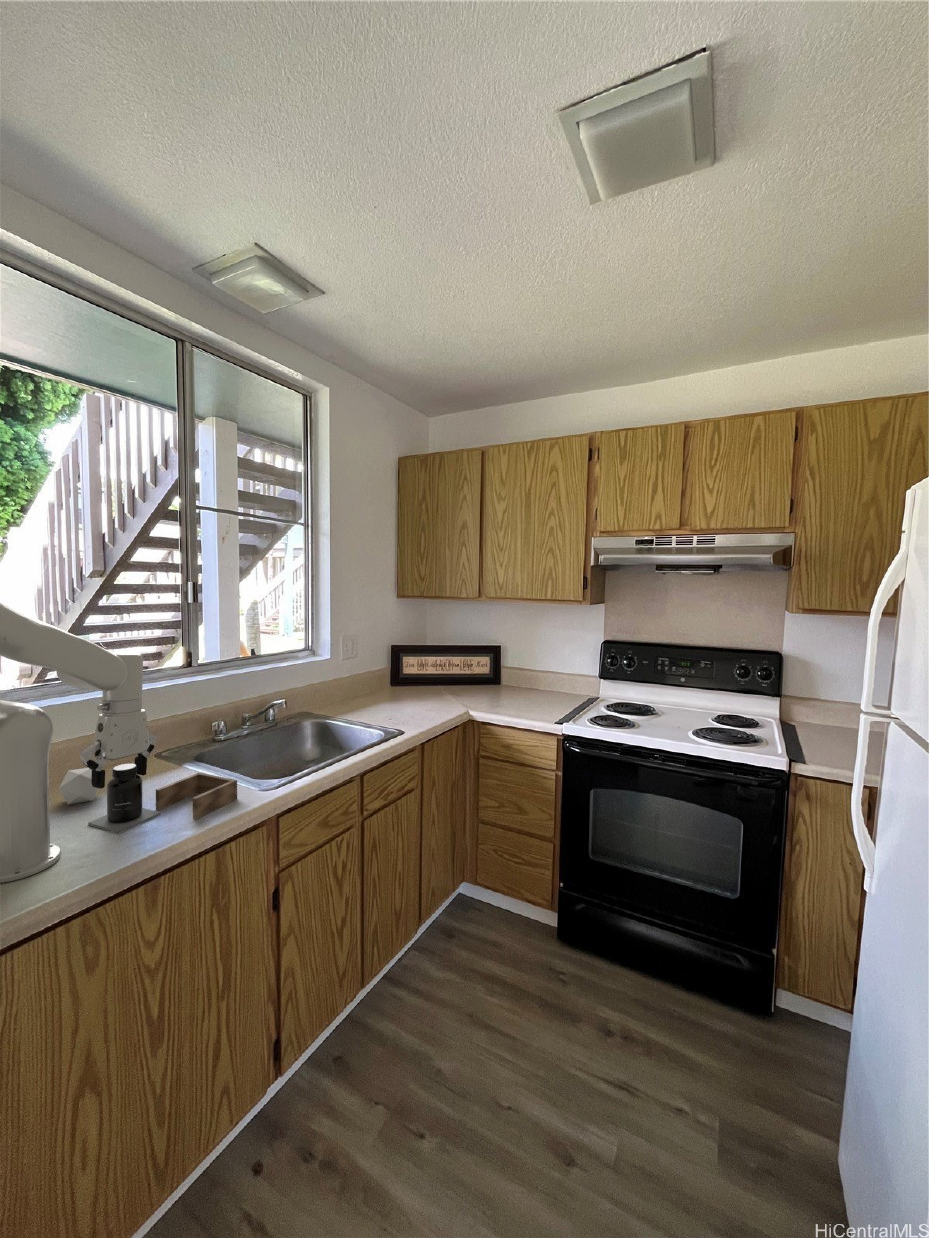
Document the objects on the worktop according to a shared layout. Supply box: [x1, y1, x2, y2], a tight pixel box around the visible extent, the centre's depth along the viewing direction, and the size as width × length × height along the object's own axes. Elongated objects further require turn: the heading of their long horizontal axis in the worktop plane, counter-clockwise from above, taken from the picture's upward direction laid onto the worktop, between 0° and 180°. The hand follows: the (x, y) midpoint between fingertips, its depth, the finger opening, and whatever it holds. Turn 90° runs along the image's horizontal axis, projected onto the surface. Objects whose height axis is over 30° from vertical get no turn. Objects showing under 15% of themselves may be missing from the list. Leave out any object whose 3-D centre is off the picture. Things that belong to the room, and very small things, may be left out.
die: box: [58, 767, 100, 805], centre depth 126 cm, size 8×9×10 cm
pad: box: [87, 807, 162, 834], centre depth 117 cm, size 10×10×1 cm
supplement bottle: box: [106, 762, 143, 823], centre depth 116 cm, size 7×7×12 cm
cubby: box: [155, 772, 238, 820], centre depth 126 cm, size 12×13×5 cm
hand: (120, 780), depth 115 cm, fingers open, 9 cm apart
